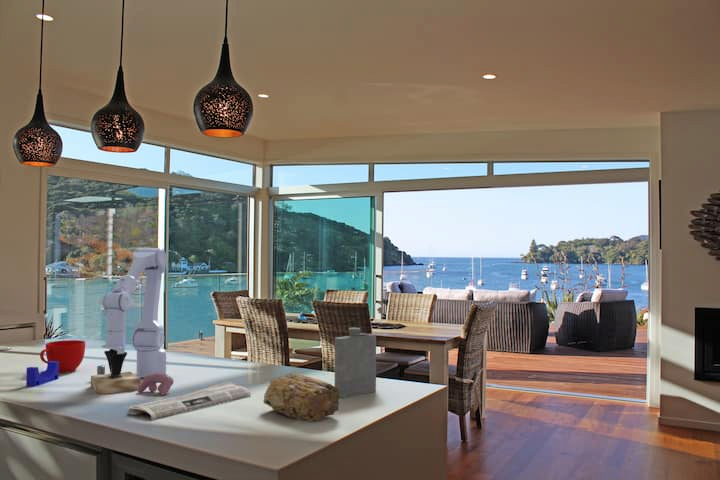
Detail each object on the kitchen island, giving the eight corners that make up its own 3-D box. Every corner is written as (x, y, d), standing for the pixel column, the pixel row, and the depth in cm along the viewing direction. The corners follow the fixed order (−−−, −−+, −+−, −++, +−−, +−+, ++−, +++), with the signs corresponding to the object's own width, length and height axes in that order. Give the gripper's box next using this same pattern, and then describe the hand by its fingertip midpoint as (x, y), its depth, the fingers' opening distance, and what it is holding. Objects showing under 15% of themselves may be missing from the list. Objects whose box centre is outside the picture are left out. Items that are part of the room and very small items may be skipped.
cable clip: (46, 379, 211) (46, 361, 211) (58, 379, 210) (58, 361, 210) (22, 386, 199) (22, 367, 199) (34, 387, 198) (35, 368, 198)
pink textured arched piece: (171, 398, 190) (177, 375, 193) (162, 394, 186) (169, 371, 189) (143, 395, 193) (150, 373, 196) (135, 392, 189) (142, 369, 192)
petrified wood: (346, 416, 163) (340, 379, 162) (306, 436, 155) (300, 398, 153) (302, 400, 178) (297, 366, 176) (264, 417, 170) (258, 382, 168)
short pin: (104, 378, 211) (104, 365, 211) (105, 380, 209) (105, 366, 209) (96, 379, 210) (96, 365, 210) (97, 380, 208) (98, 367, 208)
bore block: (130, 382, 205) (130, 371, 205) (139, 389, 195) (139, 378, 195) (90, 386, 198) (91, 375, 198) (98, 394, 188) (99, 382, 188)
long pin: (118, 382, 198) (118, 356, 198) (119, 383, 196) (119, 358, 196) (110, 383, 197) (110, 357, 197) (111, 384, 195) (111, 358, 195)
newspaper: (151, 422, 160) (151, 408, 160) (123, 414, 167) (123, 401, 167) (254, 397, 188) (254, 385, 188) (226, 391, 195) (226, 380, 195)
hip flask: (339, 399, 183) (339, 330, 184) (330, 396, 186) (330, 329, 187) (378, 391, 194) (378, 326, 195) (368, 389, 197) (369, 325, 198)
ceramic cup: (26, 374, 217) (27, 345, 217) (66, 366, 233) (66, 339, 233) (54, 377, 212) (55, 348, 212) (93, 369, 228) (93, 341, 228)
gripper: (97, 328, 201) (96, 371, 200) (107, 333, 189) (106, 379, 188) (120, 327, 205) (119, 369, 204) (131, 332, 193) (131, 376, 192)
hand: (115, 373), depth 197 cm, fingers closed on long pin, 2 cm apart
